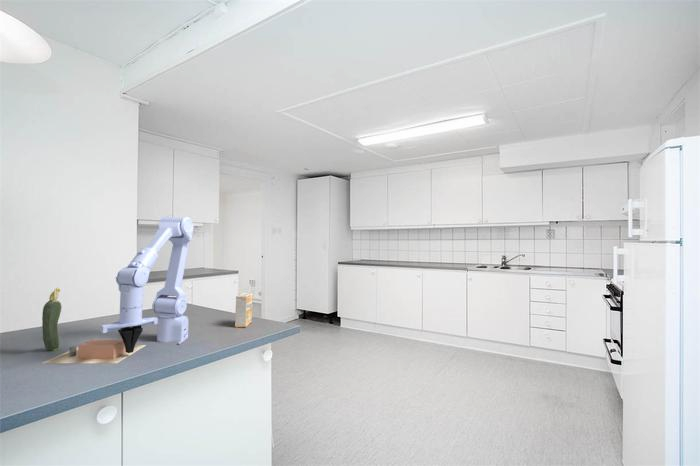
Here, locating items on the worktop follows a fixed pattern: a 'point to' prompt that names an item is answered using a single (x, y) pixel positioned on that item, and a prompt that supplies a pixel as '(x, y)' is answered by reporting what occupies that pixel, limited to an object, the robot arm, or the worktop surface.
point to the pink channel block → (101, 349)
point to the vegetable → (51, 321)
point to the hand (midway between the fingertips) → (129, 352)
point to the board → (73, 358)
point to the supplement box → (243, 309)
